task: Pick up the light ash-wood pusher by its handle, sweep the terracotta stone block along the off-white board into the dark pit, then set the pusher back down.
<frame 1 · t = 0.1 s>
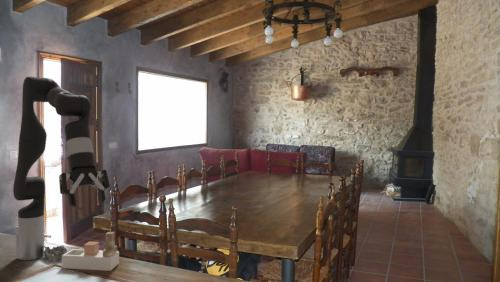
hand: (88, 204, 116), 31 cm above the table, tool tilted 20°, fingers open, 8 cm apart
pusher: (110, 254, 148), point 5 cm above the table, touching sweep board
grey green rough clump: (55, 257, 158), on the table, touching arm
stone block: (91, 253, 149), point 5 cm above the table, touching sweep board
sweep board: (91, 265, 149), on the table
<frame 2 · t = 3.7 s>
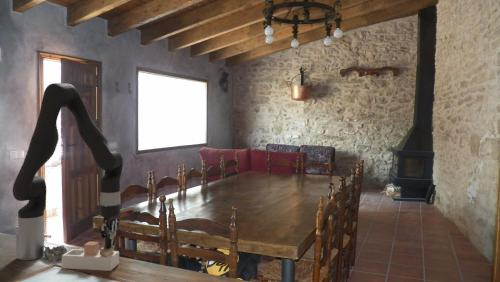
hand: (110, 246, 148), 8 cm above the table, tool pointing down, fingers closed on pusher, 2 cm apart
pusher: (106, 253, 149), point 5 cm above the table, tilted 11°, touching gripper
everything else where it was.
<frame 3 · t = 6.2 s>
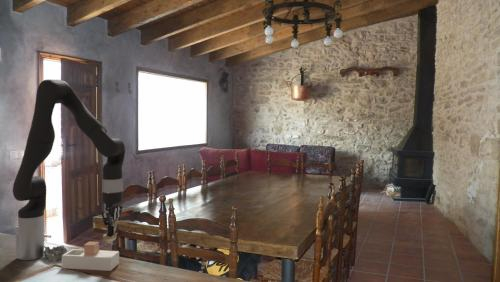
hand: (112, 234, 148), 13 cm above the table, tool pointing down, fingers closed on pusher, 2 cm apart
pusher: (109, 240, 148), point 11 cm above the table, tilted 14°, touching gripper
everything else where it was.
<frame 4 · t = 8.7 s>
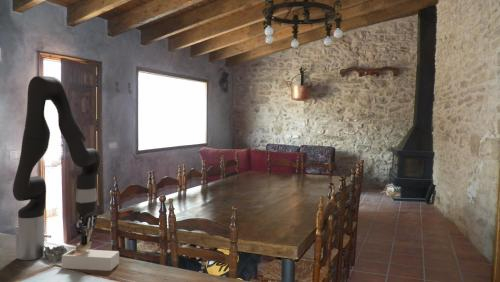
hand: (86, 243, 149), 9 cm above the table, tool pointing down, fingers closed on pusher, 2 cm apart
pusher: (83, 249, 149), point 6 cm above the table, tilted 14°, touching gripper
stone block: (82, 259, 149), point 2 cm above the table, tilted 90°, touching sweep board
everything else where it was.
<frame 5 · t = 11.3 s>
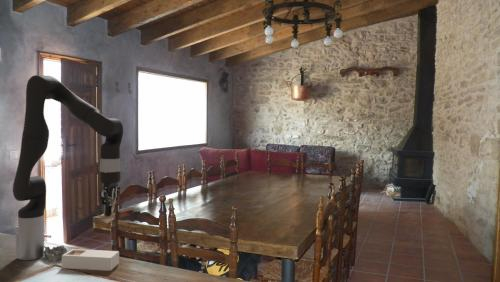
hand: (110, 214, 148), 21 cm above the table, tool pointing down, fingers closed on pusher, 2 cm apart
pusher: (106, 220, 148), point 18 cm above the table, tilted 14°, touching gripper
everything else where it was.
when the fingers open (9 cm above the table, at t = 13.6 s): pusher drops 1 cm, resting on sweep board.
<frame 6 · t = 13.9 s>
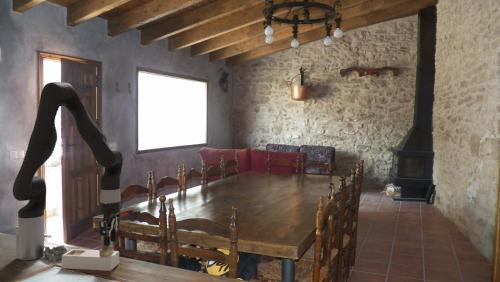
hand: (110, 243, 148), 9 cm above the table, tool pointing down, fingers open, 5 cm apart
pusher: (107, 253, 149), point 5 cm above the table, touching sweep board
everything else where it was.
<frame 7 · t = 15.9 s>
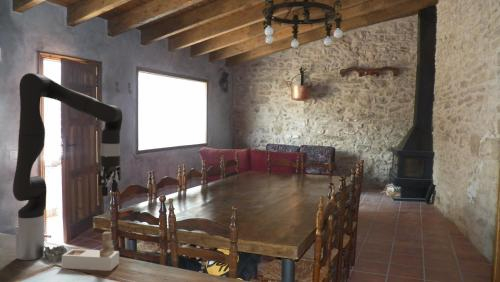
hand: (109, 193, 155), 27 cm above the table, tool pointing down, fingers open, 8 cm apart
nothing on the table moved.
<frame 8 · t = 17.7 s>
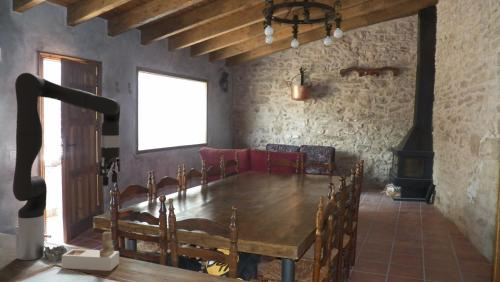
hand: (110, 184, 162), 30 cm above the table, tool pointing down, fingers open, 8 cm apart
nothing on the table moved.
at the end: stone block 2.7 cm from the target spot on the sweep board, point 2.2 cm above the sweep board's base; the gripper is holding nothing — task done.
